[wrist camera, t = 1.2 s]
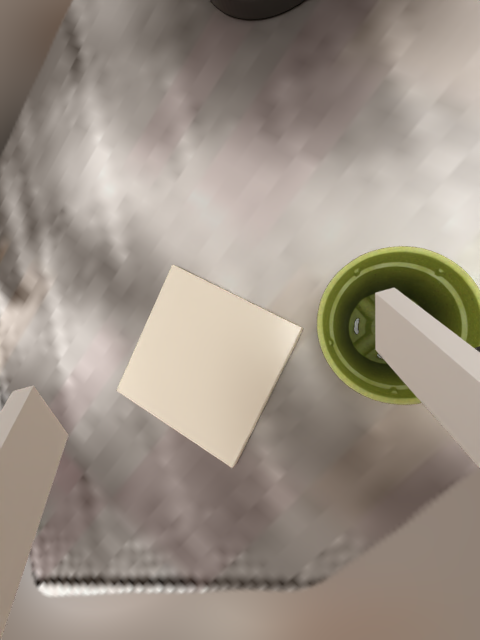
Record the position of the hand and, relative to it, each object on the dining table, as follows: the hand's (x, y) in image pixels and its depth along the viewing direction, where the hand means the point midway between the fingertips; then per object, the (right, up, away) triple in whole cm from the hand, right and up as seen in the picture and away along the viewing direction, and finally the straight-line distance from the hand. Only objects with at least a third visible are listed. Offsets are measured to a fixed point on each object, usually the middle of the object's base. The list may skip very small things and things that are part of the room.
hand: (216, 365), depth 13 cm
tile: (-2, -2, +20) cm, 21 cm away
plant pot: (+13, +1, +16) cm, 20 cm away
